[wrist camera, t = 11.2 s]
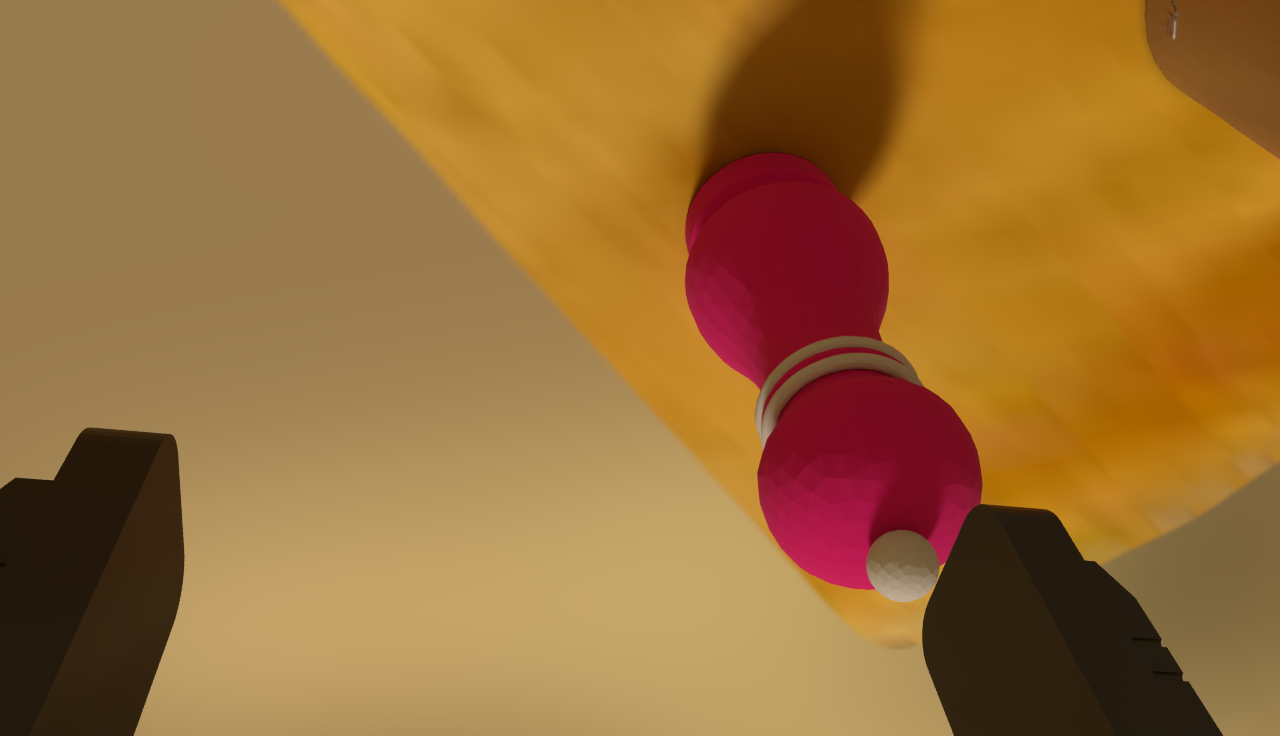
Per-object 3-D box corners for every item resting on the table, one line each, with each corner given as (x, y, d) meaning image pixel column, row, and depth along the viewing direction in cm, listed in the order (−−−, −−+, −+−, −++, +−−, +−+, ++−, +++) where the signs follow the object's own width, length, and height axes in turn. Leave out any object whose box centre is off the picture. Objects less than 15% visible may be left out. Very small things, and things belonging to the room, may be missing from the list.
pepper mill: (678, 136, 41) (784, 477, 24) (868, 139, 42) (1096, 471, 25) (666, 305, 45) (750, 696, 28) (839, 304, 46) (1020, 686, 29)
